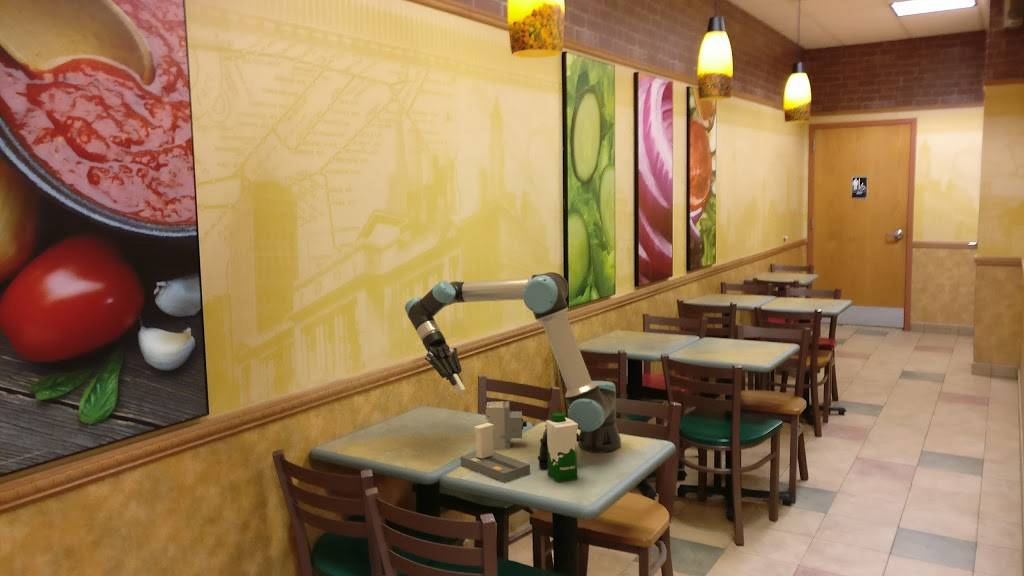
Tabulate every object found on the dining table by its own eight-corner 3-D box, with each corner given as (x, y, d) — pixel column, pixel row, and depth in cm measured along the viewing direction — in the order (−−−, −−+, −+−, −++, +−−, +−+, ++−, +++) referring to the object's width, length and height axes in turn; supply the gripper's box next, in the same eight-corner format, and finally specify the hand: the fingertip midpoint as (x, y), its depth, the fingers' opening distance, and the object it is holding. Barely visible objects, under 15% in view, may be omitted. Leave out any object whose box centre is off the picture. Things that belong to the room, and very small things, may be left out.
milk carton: (568, 470, 260) (567, 410, 257) (581, 479, 251) (581, 417, 249) (544, 474, 256) (542, 414, 254) (556, 484, 248) (555, 421, 245)
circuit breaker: (527, 448, 282) (526, 407, 280) (486, 449, 282) (485, 407, 280) (527, 441, 289) (526, 401, 287) (487, 442, 290) (486, 401, 288)
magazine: (528, 462, 263) (547, 420, 262) (564, 476, 266) (583, 435, 265) (530, 466, 260) (549, 424, 259) (567, 480, 262) (585, 438, 261)
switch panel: (460, 465, 267) (460, 456, 266) (486, 457, 274) (486, 448, 273) (504, 482, 250) (504, 473, 250) (530, 473, 257) (529, 464, 257)
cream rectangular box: (474, 456, 264) (474, 426, 263) (488, 452, 268) (488, 422, 267) (480, 459, 262) (479, 428, 261) (494, 454, 266) (493, 424, 265)
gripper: (442, 340, 288) (472, 394, 277) (412, 345, 279) (442, 401, 269) (450, 327, 283) (481, 382, 273) (420, 332, 274) (451, 389, 264)
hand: (462, 391), depth 271 cm, fingers closed
